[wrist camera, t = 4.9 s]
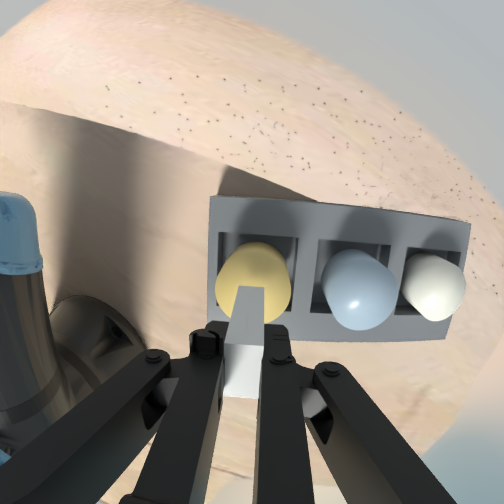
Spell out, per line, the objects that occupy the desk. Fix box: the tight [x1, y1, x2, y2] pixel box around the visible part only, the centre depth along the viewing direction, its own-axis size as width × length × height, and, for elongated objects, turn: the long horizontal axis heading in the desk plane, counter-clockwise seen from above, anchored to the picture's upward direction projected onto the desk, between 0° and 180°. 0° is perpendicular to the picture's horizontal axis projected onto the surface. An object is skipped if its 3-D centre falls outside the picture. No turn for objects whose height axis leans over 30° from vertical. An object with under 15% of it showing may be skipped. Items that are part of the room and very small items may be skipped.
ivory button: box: [400, 252, 466, 321], centre depth 23 cm, size 5×5×4 cm
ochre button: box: [215, 242, 291, 324], centre depth 22 cm, size 5×5×4 cm
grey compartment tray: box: [207, 195, 471, 342], centre depth 25 cm, size 24×12×3 cm, turn 87°
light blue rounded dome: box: [321, 249, 398, 330], centre depth 22 cm, size 5×5×4 cm
